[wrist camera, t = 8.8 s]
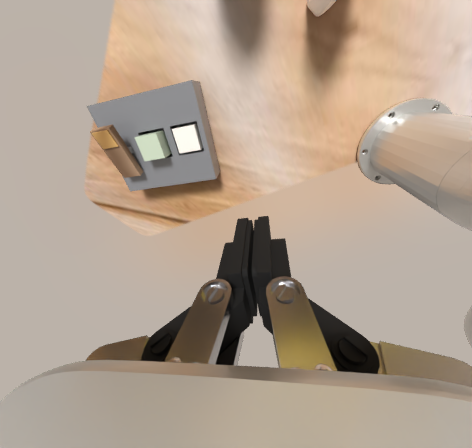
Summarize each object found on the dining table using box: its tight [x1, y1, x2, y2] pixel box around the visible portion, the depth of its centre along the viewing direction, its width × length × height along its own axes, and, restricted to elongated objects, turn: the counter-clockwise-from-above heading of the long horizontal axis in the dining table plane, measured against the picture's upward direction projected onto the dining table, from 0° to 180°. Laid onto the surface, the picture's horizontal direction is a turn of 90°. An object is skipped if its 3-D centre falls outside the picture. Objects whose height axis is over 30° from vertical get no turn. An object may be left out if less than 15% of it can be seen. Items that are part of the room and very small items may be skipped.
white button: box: [172, 123, 203, 153], centre depth 31 cm, size 4×4×3 cm
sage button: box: [134, 130, 172, 161], centre depth 31 cm, size 4×4×3 cm
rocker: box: [90, 124, 143, 178], centre depth 31 cm, size 3×8×1 cm, turn 11°
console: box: [87, 80, 220, 191], centre depth 33 cm, size 17×14×5 cm
